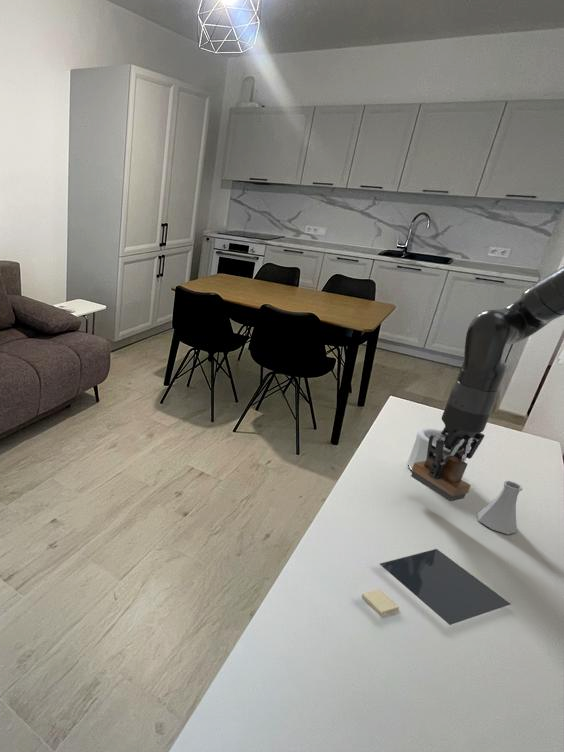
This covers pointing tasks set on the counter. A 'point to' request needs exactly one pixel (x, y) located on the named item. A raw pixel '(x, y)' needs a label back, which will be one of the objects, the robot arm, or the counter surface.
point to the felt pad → (380, 601)
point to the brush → (443, 478)
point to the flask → (502, 510)
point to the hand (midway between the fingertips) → (442, 475)
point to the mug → (422, 445)
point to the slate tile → (444, 586)
